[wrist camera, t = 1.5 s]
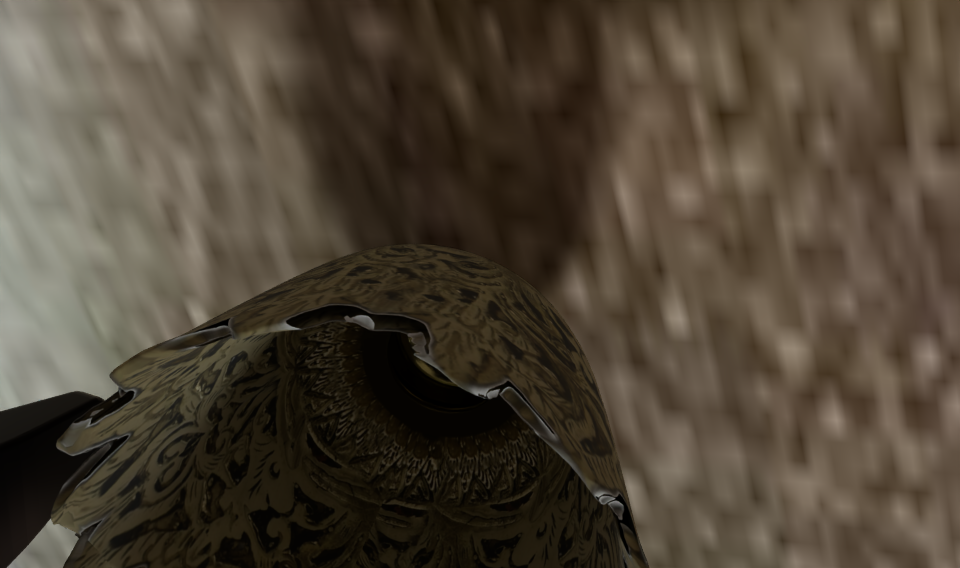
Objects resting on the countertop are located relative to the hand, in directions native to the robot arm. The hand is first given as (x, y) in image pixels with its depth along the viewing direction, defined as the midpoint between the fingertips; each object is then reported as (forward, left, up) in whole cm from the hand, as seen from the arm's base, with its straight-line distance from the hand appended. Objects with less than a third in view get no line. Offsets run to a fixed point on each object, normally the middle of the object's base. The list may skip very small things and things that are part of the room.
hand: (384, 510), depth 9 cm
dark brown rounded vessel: (0, 0, -6) cm, 6 cm away
